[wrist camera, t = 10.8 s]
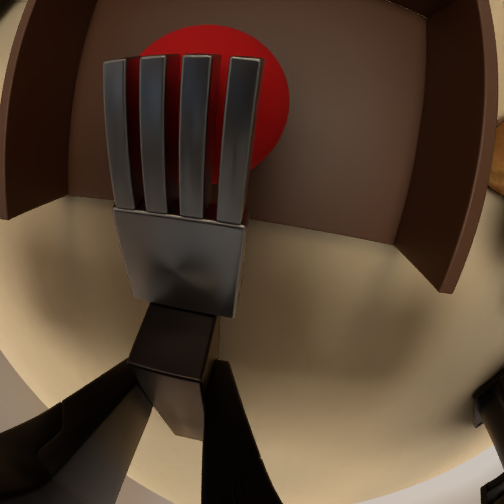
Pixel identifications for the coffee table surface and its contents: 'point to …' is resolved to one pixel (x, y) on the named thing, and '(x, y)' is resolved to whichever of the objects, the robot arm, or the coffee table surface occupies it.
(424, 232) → the serving tray
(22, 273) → the coffee table surface
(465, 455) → the coffee table surface
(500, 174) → the stuffed squirrel
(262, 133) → the red ball
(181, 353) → the fork
